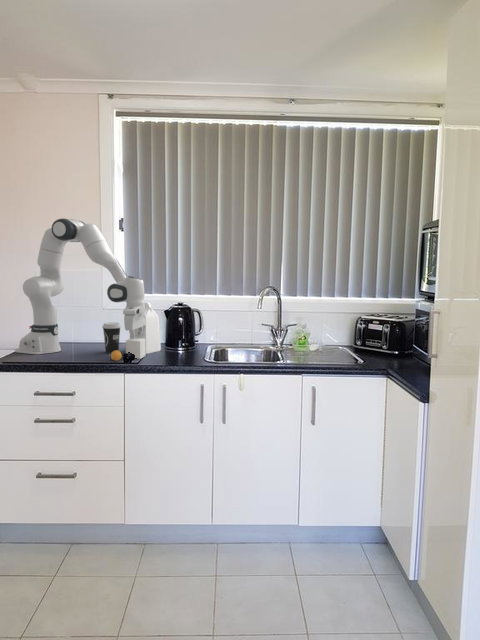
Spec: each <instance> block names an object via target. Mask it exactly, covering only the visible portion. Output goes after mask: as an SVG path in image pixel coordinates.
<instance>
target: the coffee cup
mask: <svg viewBox="0 0 480 640" xmlns="http://www.w3.org/2000/svg"><path fill="white" fill-rule="evenodd" d="M101 327H102V330H103V331H102V332H103V337H104V338H103V339H104V349H105V353H106V354H107V353H110V354H111V353H112V352H113V351H115V350H118V351H120V349H119V347H120V337H121V335H120V334H121V328H122V326H121V324H120V322H115V321H114V322H113V321H111V322H103V325H102V326H101Z"/></svg>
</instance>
